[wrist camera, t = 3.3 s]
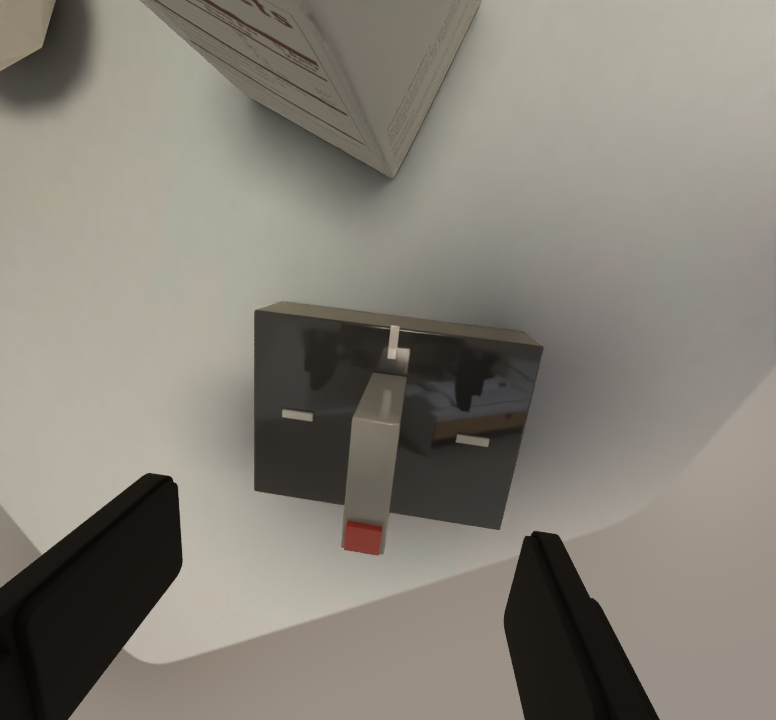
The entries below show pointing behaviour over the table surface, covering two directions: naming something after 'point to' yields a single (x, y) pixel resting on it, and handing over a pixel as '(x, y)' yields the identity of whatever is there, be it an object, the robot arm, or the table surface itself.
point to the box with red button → (372, 464)
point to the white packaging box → (332, 62)
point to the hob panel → (420, 412)
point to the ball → (22, 28)
